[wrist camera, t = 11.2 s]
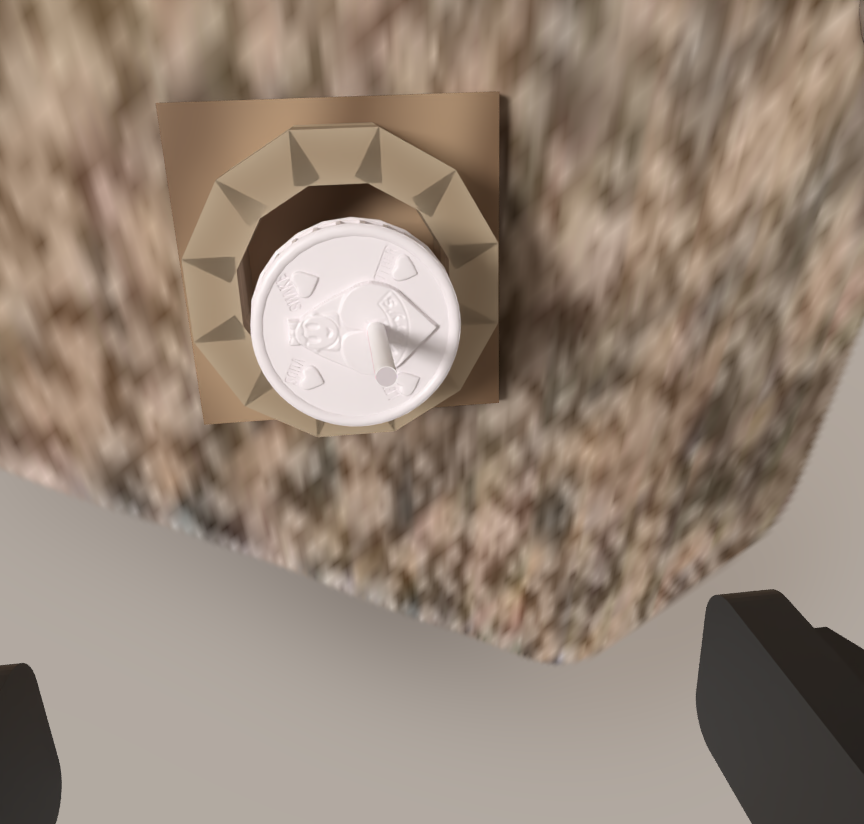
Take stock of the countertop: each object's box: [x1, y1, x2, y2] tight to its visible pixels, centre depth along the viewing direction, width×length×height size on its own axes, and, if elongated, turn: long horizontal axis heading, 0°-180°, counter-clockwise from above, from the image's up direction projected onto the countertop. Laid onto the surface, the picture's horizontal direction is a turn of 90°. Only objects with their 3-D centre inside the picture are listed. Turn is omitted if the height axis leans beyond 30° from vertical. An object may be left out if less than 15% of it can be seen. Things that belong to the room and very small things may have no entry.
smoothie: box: [250, 217, 461, 426], centre depth 26 cm, size 6×6×14 cm
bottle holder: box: [156, 92, 499, 437], centre depth 31 cm, size 13×13×6 cm
